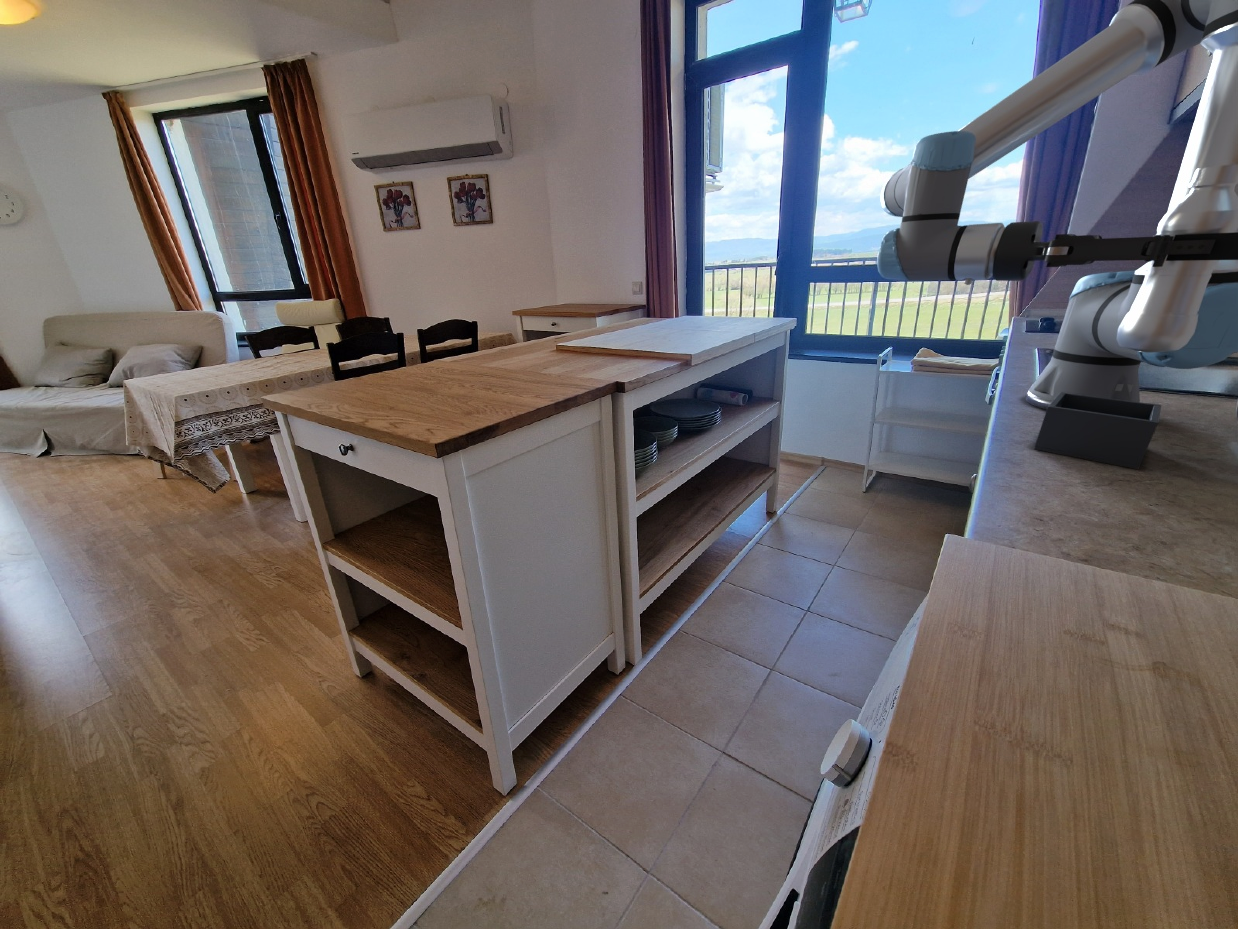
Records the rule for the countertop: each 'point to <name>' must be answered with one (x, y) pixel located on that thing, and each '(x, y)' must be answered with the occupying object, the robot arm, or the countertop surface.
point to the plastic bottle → (1181, 266)
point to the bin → (1098, 429)
